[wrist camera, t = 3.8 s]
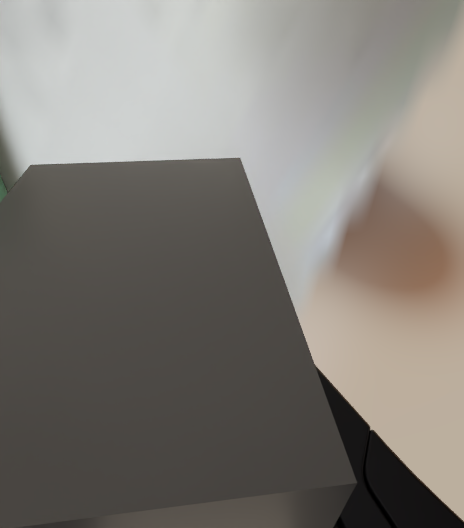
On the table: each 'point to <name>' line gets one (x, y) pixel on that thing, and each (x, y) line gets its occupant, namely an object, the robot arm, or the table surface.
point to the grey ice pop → (155, 357)
